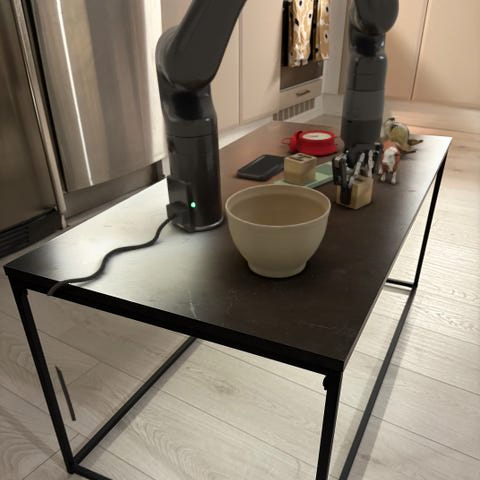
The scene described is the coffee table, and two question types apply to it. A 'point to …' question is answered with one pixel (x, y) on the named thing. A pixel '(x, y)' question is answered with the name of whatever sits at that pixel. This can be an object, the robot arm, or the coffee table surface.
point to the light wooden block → (299, 169)
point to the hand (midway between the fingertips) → (353, 199)
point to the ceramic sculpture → (398, 136)
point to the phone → (262, 167)
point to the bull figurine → (389, 160)
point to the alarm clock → (312, 142)
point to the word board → (322, 176)
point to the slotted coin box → (358, 192)
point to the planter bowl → (277, 226)
